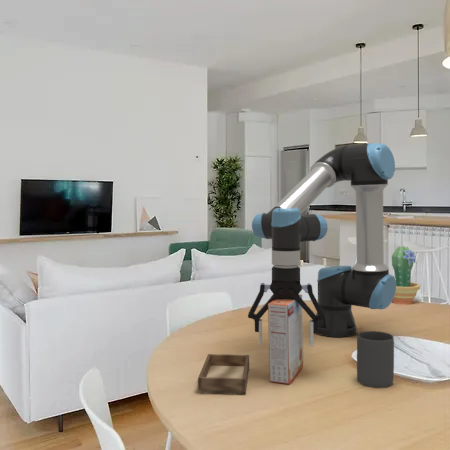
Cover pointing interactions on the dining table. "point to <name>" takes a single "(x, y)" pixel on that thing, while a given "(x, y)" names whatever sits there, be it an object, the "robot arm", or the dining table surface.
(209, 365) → the tray
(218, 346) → the dining table surface
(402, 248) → the potted cactus
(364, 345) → the mug
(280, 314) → the cracker box
